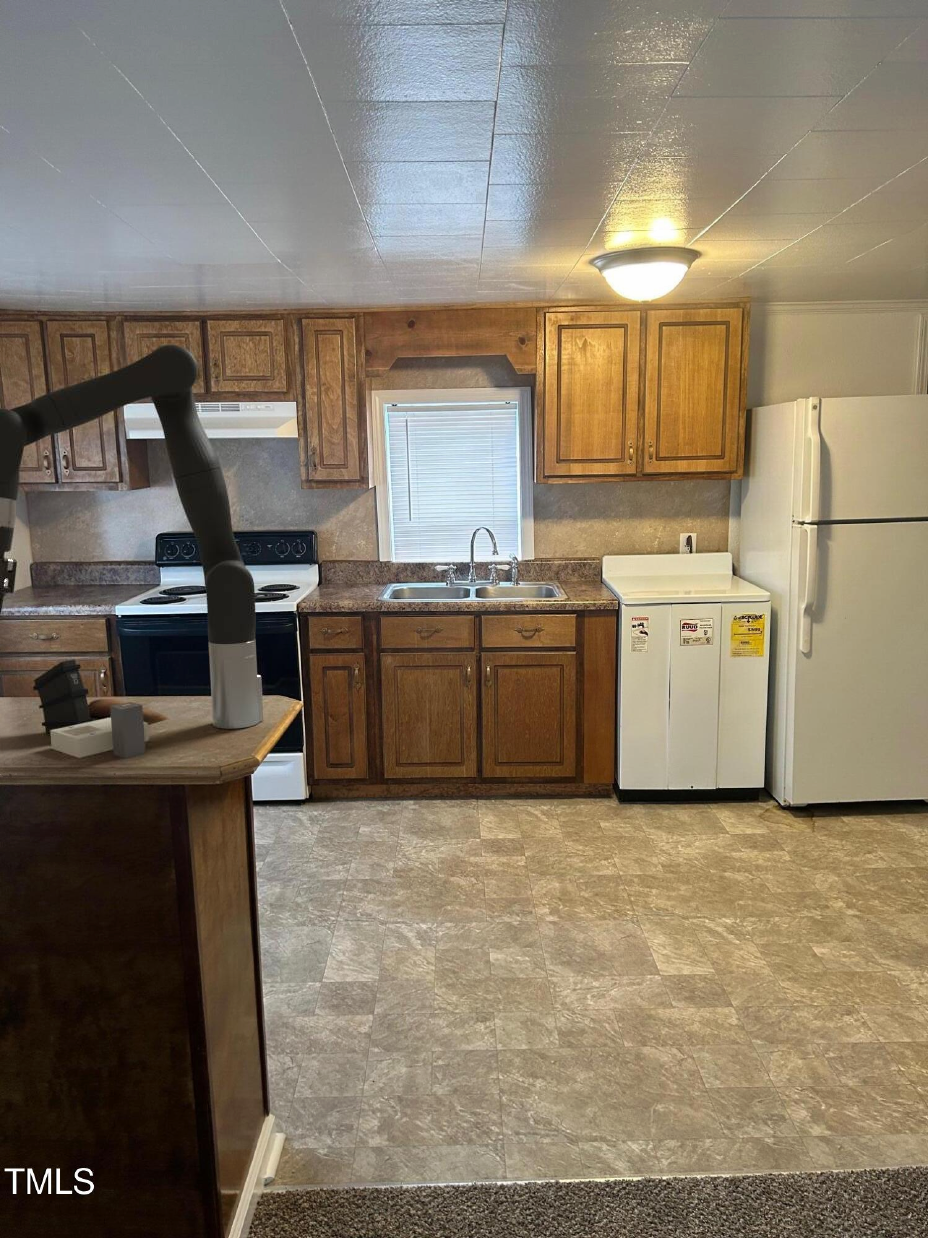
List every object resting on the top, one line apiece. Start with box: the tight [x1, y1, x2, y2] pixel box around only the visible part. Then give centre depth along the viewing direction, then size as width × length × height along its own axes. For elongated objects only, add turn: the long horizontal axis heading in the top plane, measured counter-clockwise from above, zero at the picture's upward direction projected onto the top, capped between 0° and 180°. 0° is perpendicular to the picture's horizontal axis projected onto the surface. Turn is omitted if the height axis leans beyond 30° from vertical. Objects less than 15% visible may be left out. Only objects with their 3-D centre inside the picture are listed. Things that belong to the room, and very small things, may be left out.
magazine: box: [32, 659, 94, 735], centre depth 177 cm, size 4×13×15 cm, turn 58°
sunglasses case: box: [88, 698, 170, 726], centre depth 190 cm, size 18×7×7 cm, turn 57°
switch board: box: [50, 717, 150, 759], centre depth 170 cm, size 14×10×4 cm
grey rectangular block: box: [110, 701, 146, 759], centre depth 163 cm, size 4×4×9 cm
